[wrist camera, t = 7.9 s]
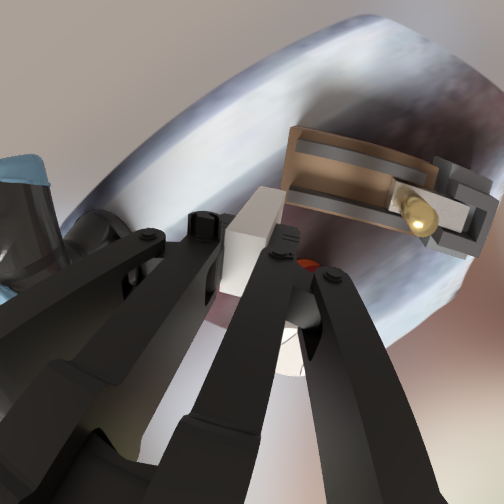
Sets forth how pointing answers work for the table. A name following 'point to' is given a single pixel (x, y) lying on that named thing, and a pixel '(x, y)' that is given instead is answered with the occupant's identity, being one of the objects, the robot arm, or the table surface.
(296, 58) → the table surface
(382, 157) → the door
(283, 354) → the coffee cup
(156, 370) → the robot arm
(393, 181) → the white and gold piece
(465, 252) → the bracket
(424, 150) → the table surface
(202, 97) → the table surface
